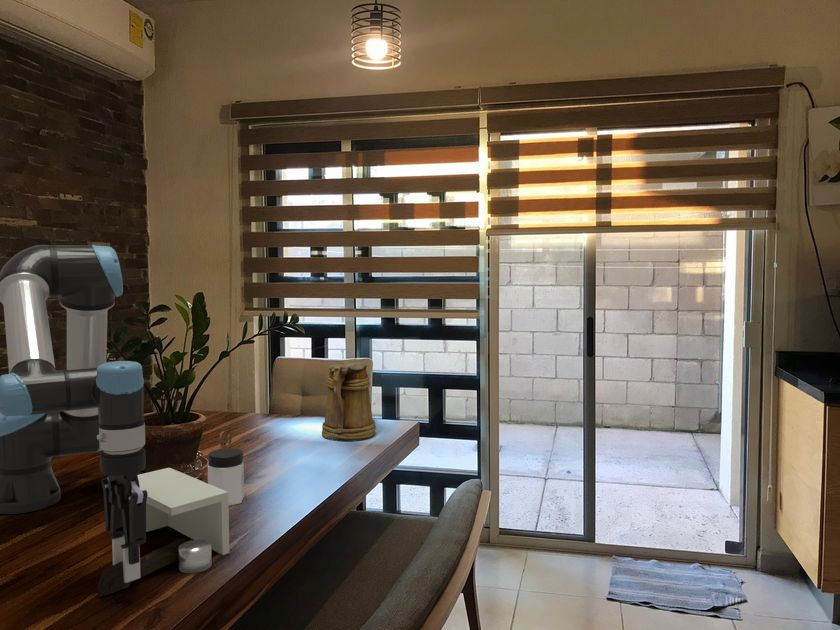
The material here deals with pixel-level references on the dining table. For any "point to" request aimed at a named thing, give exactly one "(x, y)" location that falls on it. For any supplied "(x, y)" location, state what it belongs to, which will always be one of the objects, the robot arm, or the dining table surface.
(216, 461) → the jar
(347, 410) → the tankard
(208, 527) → the low shelf
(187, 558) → the steel puck
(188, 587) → the dining table surface
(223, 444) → the gingerbread man figurine
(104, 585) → the hand tool
